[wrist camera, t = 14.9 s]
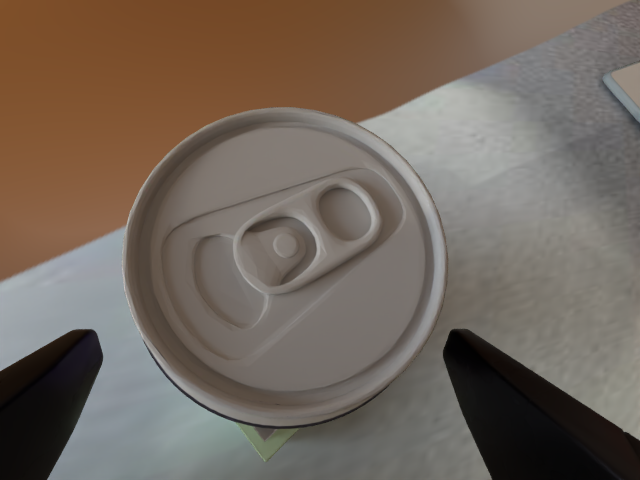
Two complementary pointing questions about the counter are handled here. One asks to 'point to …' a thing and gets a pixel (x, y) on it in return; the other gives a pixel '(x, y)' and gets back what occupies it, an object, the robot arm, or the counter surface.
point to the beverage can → (284, 266)
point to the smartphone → (626, 86)
